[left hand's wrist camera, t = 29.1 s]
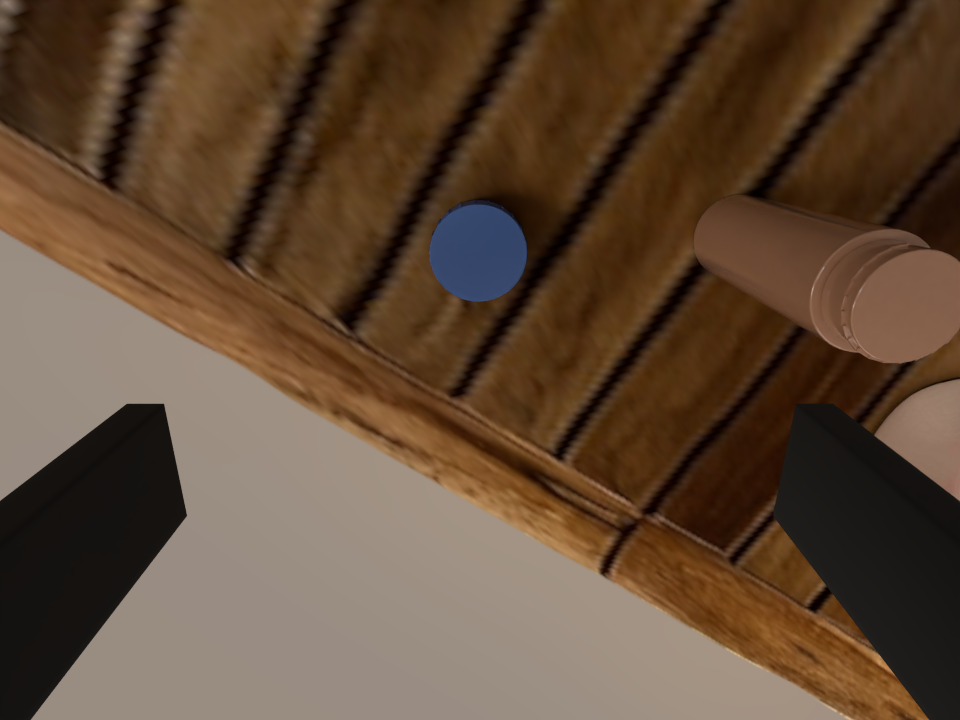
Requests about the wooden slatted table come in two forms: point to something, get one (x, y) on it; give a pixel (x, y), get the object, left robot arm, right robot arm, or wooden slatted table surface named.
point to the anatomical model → (928, 433)
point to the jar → (835, 275)
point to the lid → (478, 250)
